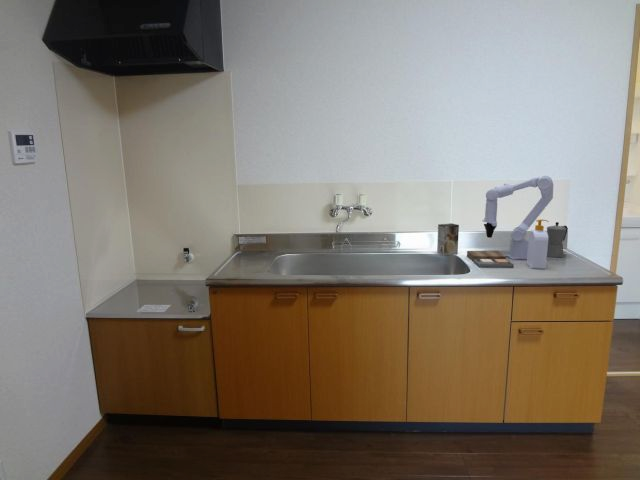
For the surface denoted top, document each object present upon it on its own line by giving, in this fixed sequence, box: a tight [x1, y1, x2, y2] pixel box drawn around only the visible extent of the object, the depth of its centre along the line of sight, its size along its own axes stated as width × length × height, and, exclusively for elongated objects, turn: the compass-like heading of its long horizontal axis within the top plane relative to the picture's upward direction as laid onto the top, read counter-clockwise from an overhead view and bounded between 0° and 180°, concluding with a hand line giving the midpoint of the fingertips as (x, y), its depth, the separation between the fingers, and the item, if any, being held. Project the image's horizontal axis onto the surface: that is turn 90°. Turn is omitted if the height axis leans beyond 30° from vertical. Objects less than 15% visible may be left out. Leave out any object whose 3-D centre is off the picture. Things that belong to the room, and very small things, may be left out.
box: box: [473, 258, 514, 269], centre depth 226 cm, size 16×10×2 cm, turn 87°
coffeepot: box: [546, 221, 569, 259], centre depth 243 cm, size 15×9×18 cm, turn 118°
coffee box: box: [436, 223, 460, 256], centre depth 249 cm, size 9×6×16 cm
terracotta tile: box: [494, 259, 509, 264], centre depth 225 cm, size 5×5×2 cm
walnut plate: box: [466, 250, 507, 263], centre depth 237 cm, size 16×12×3 cm
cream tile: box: [480, 259, 493, 264], centre depth 225 cm, size 5×5×2 cm
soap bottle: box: [526, 219, 550, 270], centre depth 221 cm, size 9×7×23 cm
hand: (489, 237), depth 246 cm, fingers closed
